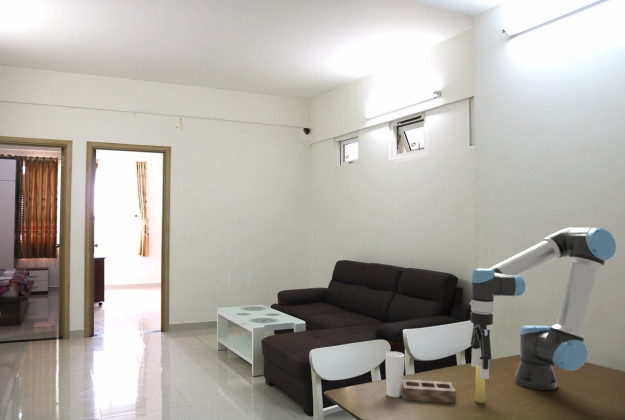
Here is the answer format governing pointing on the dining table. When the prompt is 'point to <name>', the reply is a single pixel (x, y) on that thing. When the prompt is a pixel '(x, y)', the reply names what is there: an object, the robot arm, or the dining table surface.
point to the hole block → (428, 391)
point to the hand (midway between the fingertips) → (479, 372)
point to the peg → (479, 387)
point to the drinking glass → (394, 373)
